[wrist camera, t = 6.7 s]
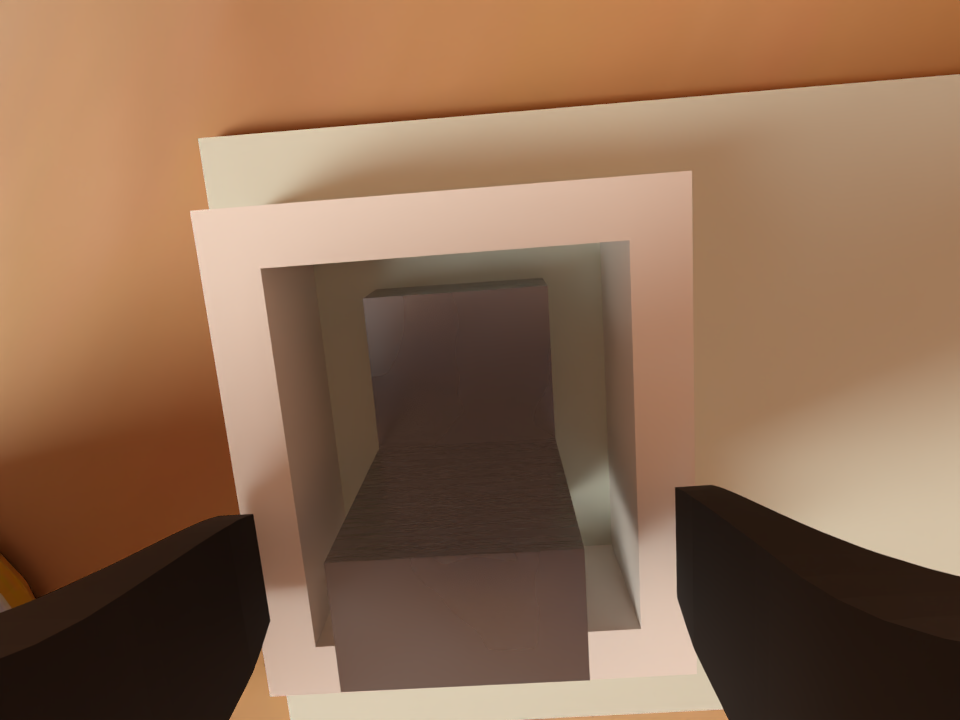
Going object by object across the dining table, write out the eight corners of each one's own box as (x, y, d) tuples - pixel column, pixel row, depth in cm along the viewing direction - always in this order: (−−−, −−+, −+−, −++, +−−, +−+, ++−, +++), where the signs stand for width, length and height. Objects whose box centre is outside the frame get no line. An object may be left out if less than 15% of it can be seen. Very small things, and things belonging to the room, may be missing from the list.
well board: (1024, 676, 17) (1174, 809, 13) (299, 713, 17) (246, 850, 14) (1089, 67, 14) (1309, 14, 10) (210, 141, 14) (111, 118, 11)
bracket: (553, 500, 15) (589, 680, 10) (399, 509, 15) (340, 692, 10) (542, 277, 14) (574, 326, 8) (376, 289, 14) (294, 344, 9)
